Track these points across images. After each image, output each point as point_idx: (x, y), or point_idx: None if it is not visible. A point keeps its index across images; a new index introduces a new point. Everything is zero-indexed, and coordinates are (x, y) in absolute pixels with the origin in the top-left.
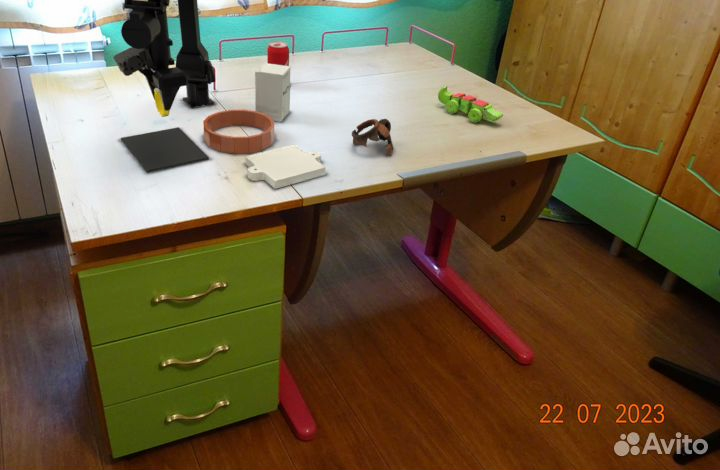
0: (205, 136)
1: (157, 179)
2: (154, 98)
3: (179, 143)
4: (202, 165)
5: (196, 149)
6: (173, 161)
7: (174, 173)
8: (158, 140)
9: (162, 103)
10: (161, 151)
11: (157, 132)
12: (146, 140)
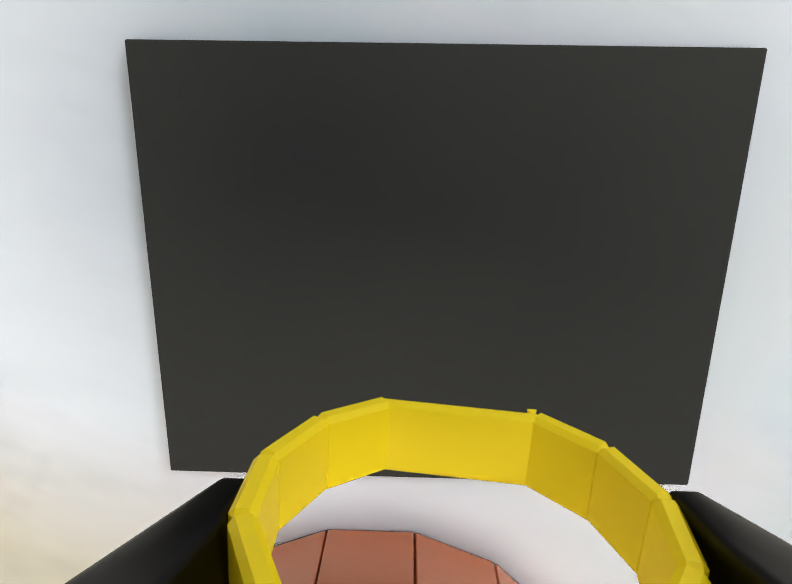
0: (391, 567)
1: (16, 70)
2: (682, 504)
3: (440, 395)
4: (115, 399)
5: None
6: (192, 259)
7: (66, 207)
8: (559, 291)
9: (237, 529)
10: (377, 244)
11: (691, 334)
12: (605, 215)
